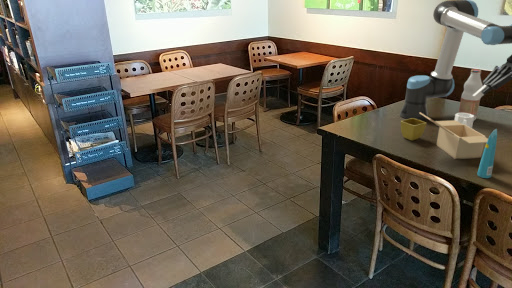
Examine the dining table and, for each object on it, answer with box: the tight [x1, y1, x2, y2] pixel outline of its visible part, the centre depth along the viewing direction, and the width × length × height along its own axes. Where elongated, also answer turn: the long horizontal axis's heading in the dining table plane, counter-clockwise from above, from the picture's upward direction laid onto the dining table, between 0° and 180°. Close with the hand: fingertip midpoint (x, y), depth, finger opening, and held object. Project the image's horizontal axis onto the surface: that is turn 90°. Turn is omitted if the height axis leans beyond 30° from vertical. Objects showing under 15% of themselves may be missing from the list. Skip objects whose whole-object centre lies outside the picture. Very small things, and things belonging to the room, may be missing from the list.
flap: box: [420, 112, 454, 135], centre depth 168 cm, size 10×1×14 cm
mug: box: [454, 112, 475, 129], centre depth 192 cm, size 12×9×10 cm
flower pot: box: [400, 118, 427, 141], centre depth 188 cm, size 9×9×9 cm
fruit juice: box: [457, 68, 484, 121], centre depth 211 cm, size 9×9×28 cm
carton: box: [434, 119, 489, 160], centre depth 172 cm, size 28×12×10 cm, turn 4°
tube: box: [476, 128, 498, 179], centre depth 148 cm, size 7×5×19 cm, turn 140°
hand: (474, 97), depth 165 cm, fingers closed
